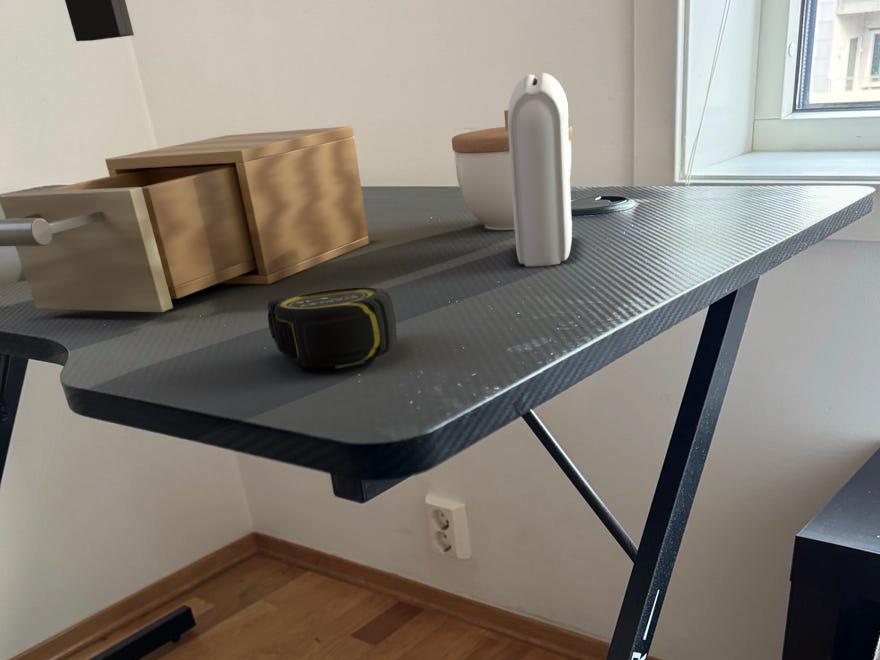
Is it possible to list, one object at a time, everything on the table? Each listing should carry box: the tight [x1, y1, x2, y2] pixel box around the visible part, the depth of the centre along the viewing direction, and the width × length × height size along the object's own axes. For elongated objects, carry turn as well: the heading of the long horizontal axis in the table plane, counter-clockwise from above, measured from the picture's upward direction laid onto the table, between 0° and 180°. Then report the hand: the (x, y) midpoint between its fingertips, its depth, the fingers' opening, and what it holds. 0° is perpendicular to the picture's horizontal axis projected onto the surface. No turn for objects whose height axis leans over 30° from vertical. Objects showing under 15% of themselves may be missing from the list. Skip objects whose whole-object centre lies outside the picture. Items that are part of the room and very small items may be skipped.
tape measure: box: [267, 286, 397, 370], centre depth 52 cm, size 7×7×4 cm
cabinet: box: [104, 125, 370, 285], centre depth 79 cm, size 16×14×10 cm
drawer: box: [0, 163, 257, 313], centre depth 68 cm, size 21×12×8 cm, turn 155°
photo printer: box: [507, 72, 573, 268], centre depth 70 cm, size 10×4×12 cm, turn 174°
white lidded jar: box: [451, 109, 573, 231], centre depth 84 cm, size 11×11×9 cm
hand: (105, 37), depth 51 cm, fingers closed
